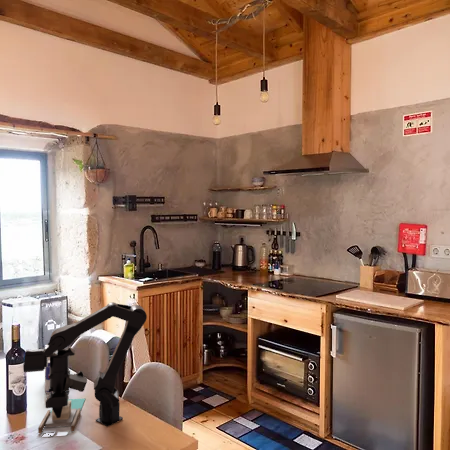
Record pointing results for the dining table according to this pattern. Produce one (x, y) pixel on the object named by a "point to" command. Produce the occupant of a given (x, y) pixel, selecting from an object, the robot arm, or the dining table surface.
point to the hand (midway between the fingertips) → (58, 417)
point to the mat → (76, 403)
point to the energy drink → (47, 378)
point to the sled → (62, 417)
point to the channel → (48, 417)
